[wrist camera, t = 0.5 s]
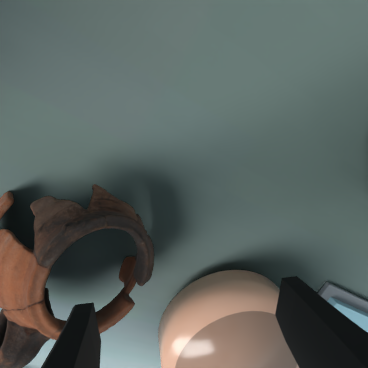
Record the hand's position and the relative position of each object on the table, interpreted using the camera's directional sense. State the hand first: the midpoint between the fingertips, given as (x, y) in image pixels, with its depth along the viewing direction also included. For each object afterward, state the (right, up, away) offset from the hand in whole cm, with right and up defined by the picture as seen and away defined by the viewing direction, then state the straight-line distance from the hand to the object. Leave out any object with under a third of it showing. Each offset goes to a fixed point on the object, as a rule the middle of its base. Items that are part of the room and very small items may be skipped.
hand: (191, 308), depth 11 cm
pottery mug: (-9, +1, +10) cm, 13 cm away
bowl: (+3, -7, +14) cm, 16 cm away
